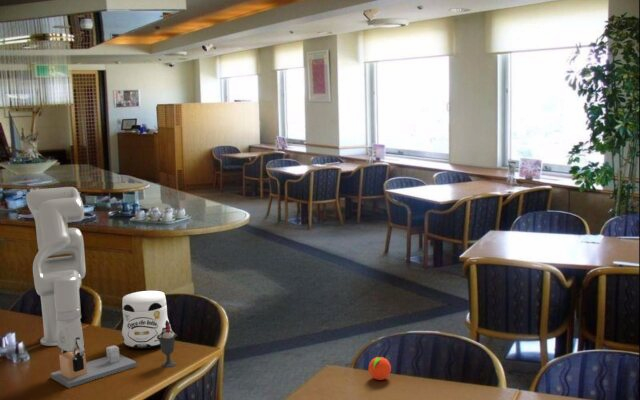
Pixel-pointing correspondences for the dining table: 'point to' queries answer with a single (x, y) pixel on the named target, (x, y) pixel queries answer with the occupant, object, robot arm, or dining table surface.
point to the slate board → (95, 371)
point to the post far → (113, 354)
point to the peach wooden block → (70, 365)
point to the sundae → (167, 344)
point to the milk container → (144, 318)
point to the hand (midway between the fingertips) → (73, 367)
